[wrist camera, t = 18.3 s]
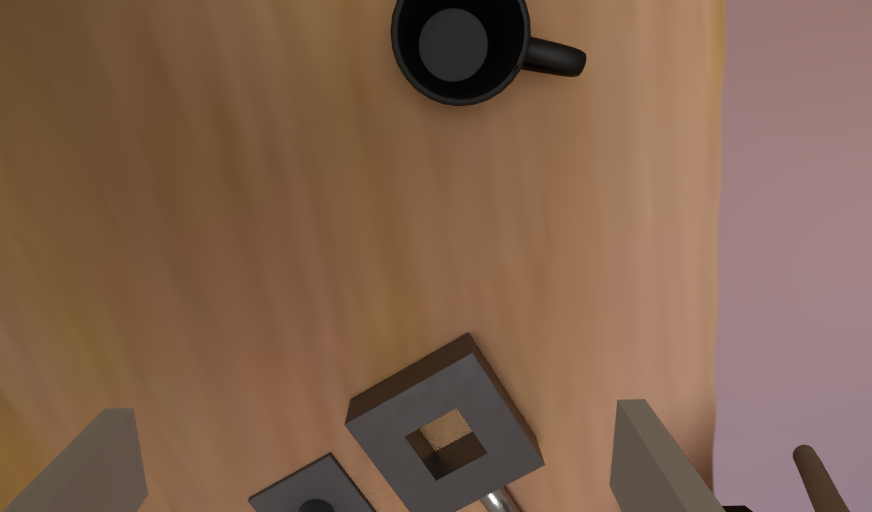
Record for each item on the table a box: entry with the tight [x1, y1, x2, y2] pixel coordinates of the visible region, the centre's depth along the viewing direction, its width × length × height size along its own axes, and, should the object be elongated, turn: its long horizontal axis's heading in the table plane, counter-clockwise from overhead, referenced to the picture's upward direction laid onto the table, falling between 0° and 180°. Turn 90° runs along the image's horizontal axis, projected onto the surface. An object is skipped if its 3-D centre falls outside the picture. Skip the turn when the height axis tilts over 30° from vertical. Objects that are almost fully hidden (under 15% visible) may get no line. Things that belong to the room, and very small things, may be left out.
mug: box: [391, 0, 586, 106], centre depth 38 cm, size 8×12×10 cm
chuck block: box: [345, 332, 545, 512], centre depth 50 cm, size 21×12×4 cm, turn 31°
